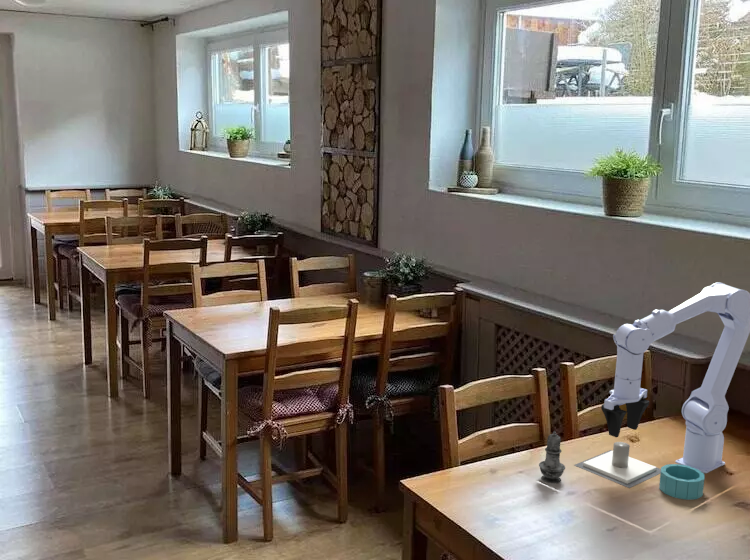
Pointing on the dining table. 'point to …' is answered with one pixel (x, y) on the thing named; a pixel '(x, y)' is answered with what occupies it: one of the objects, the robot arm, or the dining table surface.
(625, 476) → the lid
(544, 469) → the dark grey turned figure
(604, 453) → the mat
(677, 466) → the bowl
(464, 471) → the dining table surface
